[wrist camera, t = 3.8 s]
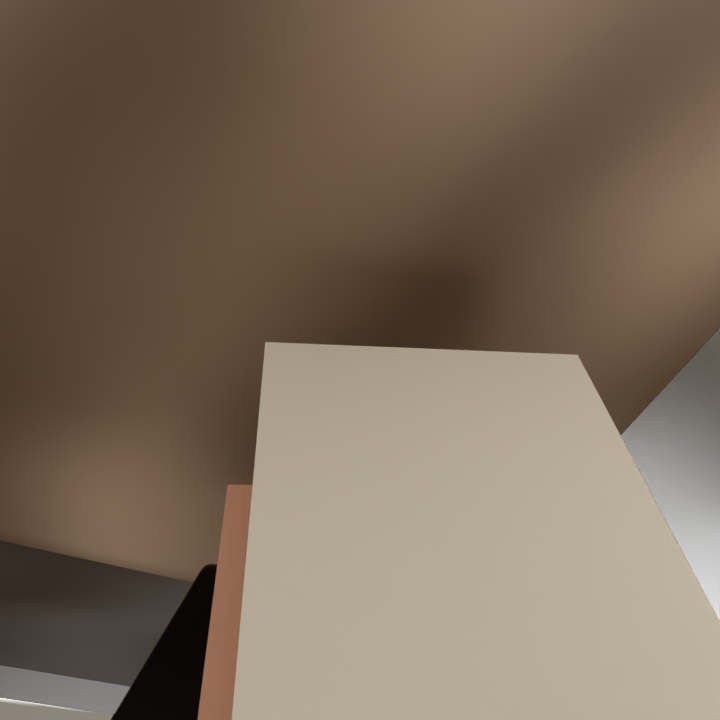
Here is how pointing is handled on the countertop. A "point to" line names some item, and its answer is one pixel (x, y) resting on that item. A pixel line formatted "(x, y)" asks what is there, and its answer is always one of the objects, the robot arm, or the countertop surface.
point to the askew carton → (449, 551)
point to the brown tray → (307, 253)
